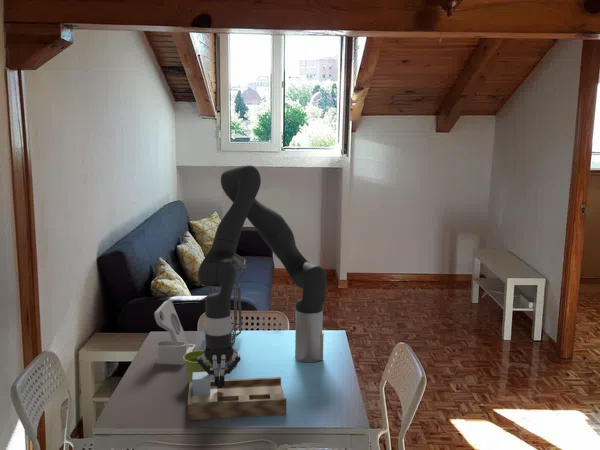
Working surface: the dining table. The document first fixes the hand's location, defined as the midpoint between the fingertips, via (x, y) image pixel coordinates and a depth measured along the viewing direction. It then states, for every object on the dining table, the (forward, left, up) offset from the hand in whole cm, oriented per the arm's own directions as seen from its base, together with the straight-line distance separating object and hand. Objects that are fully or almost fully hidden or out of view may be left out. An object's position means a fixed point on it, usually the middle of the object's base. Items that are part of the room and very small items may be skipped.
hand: (219, 387), depth 177 cm
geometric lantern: (-3, -49, -4) cm, 49 cm away
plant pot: (+6, -13, -4) cm, 15 cm away
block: (+5, 0, -1) cm, 5 cm away
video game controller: (-1, -27, -5) cm, 28 cm away
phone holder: (+15, -37, -5) cm, 40 cm away
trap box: (-5, +3, -4) cm, 7 cm away
